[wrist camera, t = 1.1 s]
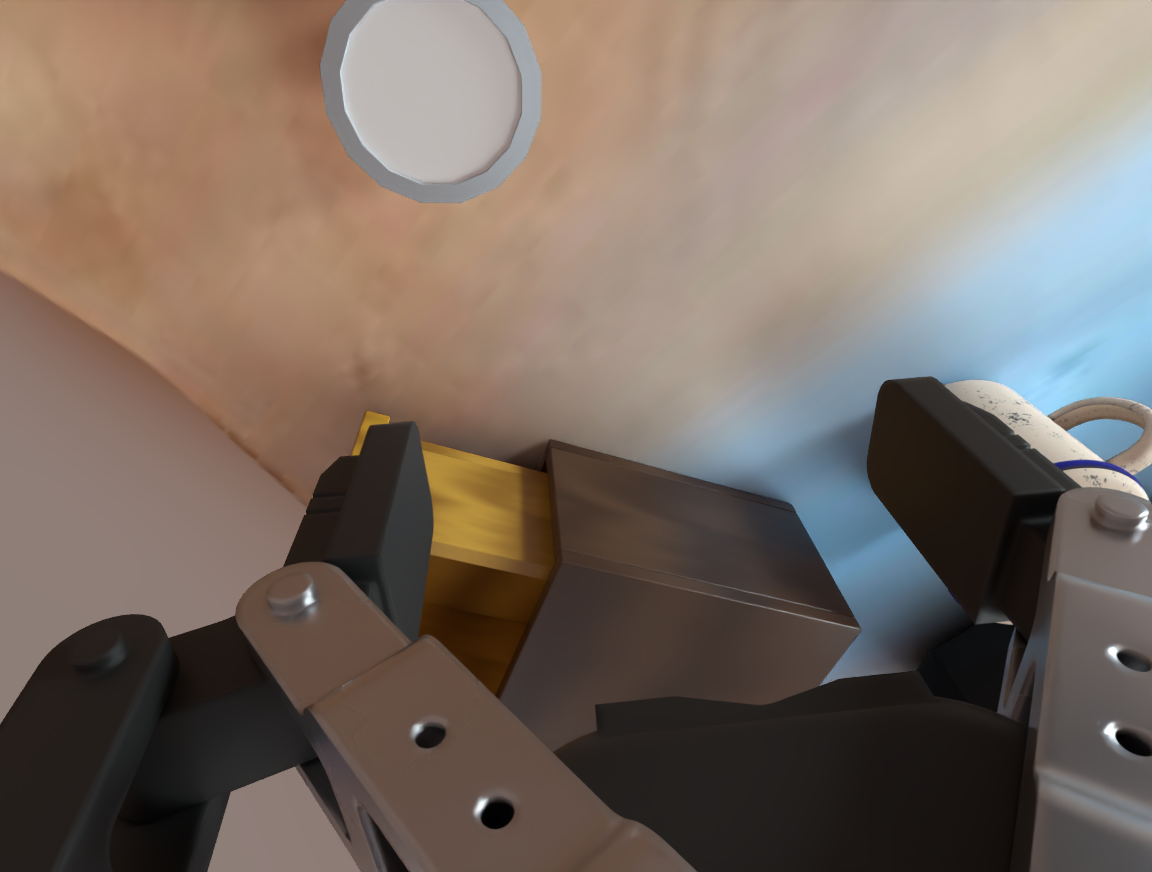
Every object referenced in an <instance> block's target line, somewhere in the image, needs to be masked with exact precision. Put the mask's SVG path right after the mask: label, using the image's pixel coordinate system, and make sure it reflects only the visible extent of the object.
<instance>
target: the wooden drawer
mask: <svg viewBox="0 0 1152 872" xmlns="http://www.w3.org/2000/svg"><path fill="white" fill-rule="evenodd" d="M389 421H390V417H389V416H385V415H382V414H378V413H374V412H370V411H366V412H365V414H364V417H363V420H362V423H361V426H360V429H359V432H358V435H357V438H356V441H355V444H354V447H353V450H352V452H351V455H350V456H353V455H359V454H360V451H361V448H362V445H363V442H364V439H365V436H366V433H367V430H368V428H369V426H370V425H377V424H388V423H389ZM421 446H422V451H423V456H424V461H425V467H426V472H427V477H428V482H429V487H430V492H431V498H432V505H433V518H434V528H433V538H432V545H431V552H430V558H429V565H428V572H427V579H426V586H425V593H424V599H423V606H422V613H421V620H420V627H419V634H418V638H420V637H422V636H423V635H431V636H433V637H434V638H436V639H437V640H438V641H439V642H440V643H442V644H443V645H444V646H445V647H446V648H447V649H448V650H449V651H450V652H451V653H452V654H453V655H454V656H455V657H456V658H457V659H458V660H459V661H460V662H461V663H462V664H463V665H464V666H465V667H466V668H467V669H468V670H469V671H470V672H471V673H472V674H473V675H474V676H475V677H476V678H477V679H478V680H479V681H480V682H481V683H482V684H483V685H484V686H485V687H486V688H487V689H488V690H489V691H490V692H491V693H492V694H493V695H495V694H496V692H497V690H498V688H499V685H500V683H501V681H502V679H503V677H504V674H505V672H506V670H507V668H508V665H509V663H510V661H511V659H512V656H513V654H514V652H515V650H516V648H517V645H518V643H519V641H520V639H521V636H522V634H523V632H524V630H525V628H526V625H527V623H528V621H529V619H530V616H531V614H532V612H533V610H534V608H535V605H536V603H537V601H538V599H539V596H540V594H541V592H542V590H543V588H544V585H545V583H546V581H547V579H548V576H549V574H550V572H551V570H552V568H553V565H554V563H555V561H554V549H553V537H552V525H551V513H550V501H549V489H548V477H547V473H545V472H541V471H537V470H533V469H529V468H525V467H521V466H517V465H514V464H510V463H506V462H502V461H498V460H494V459H490V458H486V457H483V456H479V455H475V454H471V453H467V452H463V451H459V450H455V449H451V448H448V447H444V446H440V445H436V444H432V443H428V442H424V441H421Z"/></svg>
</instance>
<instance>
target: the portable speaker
mask: <svg viewBox="0 0 1152 872" xmlns="http://www.w3.org/2000/svg"><path fill="white" fill-rule="evenodd" d="M1014 629H1015V626H1014V625H1010V624H1001V623H996V622H995V623H985V624H976V625H974V626H972V627H971V628H969V629H967V630H965V631H964V632H962V633H960V634H959V635H957V636H955V637H954V638H952V639H950V640H949V641H947V642H945V643H943V644H942V645H940V646H938V647H936V648H935V649H933V650H931V651H930V653H929V654H928V655H927V657H926V658H925V659H924V661H923V662H922V663H921V665H920V666H919V667H918V669H917V670H916V671H919V673H920V675H921V676H922V678H923V679H924V681H925V683H926V684H927V686H928V687H929V689H930V691H931V692H932V694H933V695H934V697H942V698H948V699H952V700H957V701H962V702H966V703H969V704H973V705H976V706H980V707H983V708H986V709H989V710H991V711H994V712H996V713H997V711H998V705H999V699H1000V693H1001V688H1002V682H1003V676H1004V670H1005V665H1006V659H1007V653H1008V648H1009V644H1010V641H1011V638H1012V635H1013V632H1014Z"/></svg>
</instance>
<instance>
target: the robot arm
mask: <svg viewBox="0 0 1152 872" xmlns="http://www.w3.org/2000/svg"><path fill="white" fill-rule="evenodd" d="M867 472H868V478H869V481H870V484H871V487H872V489H873V491H874V493H875V494H876V495H877V497H878V498H879V499H880V501H881V502H882V503H883V505H884V506H885V507H886V509H887V510H888V511H889V512H890V514H891V515H892V516H893V518H894V519H895V520H896V522H897V523H898V524H899V526H900V527H901V528H902V529H903V531H904V532H905V533H906V535H907V536H908V537H909V539H910V540H911V541H912V542H913V544H914V545H915V546H916V548H917V549H918V550H919V552H920V553H921V554H922V556H923V557H924V558H925V559H926V561H927V562H928V563H929V565H930V566H931V567H932V569H933V570H934V571H935V573H936V574H937V575H938V576H939V578H940V579H941V580H942V582H943V583H944V584H945V586H946V587H947V588H948V590H949V591H950V592H951V593H952V595H953V596H954V597H955V599H956V600H957V601H958V603H959V604H960V605H961V607H962V608H963V609H964V610H965V612H966V613H967V614H968V616H969V617H970V618H971V620H972V621H973V622H974V623H975V624H985V623H995V622H1004V621H1011V622H1012V624H1013V625H1014V626H1015V629H1014V632H1013V635H1012V638H1011V641H1010V644H1009V648H1008V653H1007V659H1006V665H1005V670H1004V676H1003V682H1002V688H1001V693H1000V699H999V705H998V711H997V713H996V712H994V711H991V710H989V709H986V708H983V707H980V706H976V705H973V704H969V703H966V702H962V701H957V700H952V699H948V698H942V697H934V695H933V694H932V692H931V691H930V689H929V687H928V686H927V684H926V683H925V681H924V679H923V678H922V676H921V675H920V673H919V671H909V672H900V673H890V674H881V675H871V676H862V677H852V678H843V679H838V680H835V681H832V682H829V683H827V684H824V685H821V686H818V687H816V688H813V689H810V690H807V691H804V692H802V693H799V694H796V695H793V696H790V697H788V698H785V699H782V700H779V701H777V702H774V703H770V704H766V705H753V704H744V703H734V702H725V701H716V700H707V699H697V698H688V697H679V696H672V697H662V698H653V699H643V700H634V701H624V702H615V703H605V704H596V705H595V713H596V728H597V731H594V732H591V733H589V734H586V735H583V736H581V737H579V738H577V739H575V740H573V741H571V742H569V743H567V744H565V745H563V746H562V747H560V748H559V749H557V750H556V751H554V752H552V751H551V750H549V749H548V748H547V747H546V746H545V745H544V744H543V743H542V742H541V741H540V740H539V739H538V738H537V737H536V736H535V735H534V734H533V733H532V732H531V731H530V730H529V729H528V728H527V727H526V726H525V725H524V724H523V723H522V722H521V721H520V720H519V719H518V718H517V717H516V716H515V715H514V714H513V713H512V712H511V711H510V710H509V709H508V708H507V707H506V706H505V705H504V704H503V703H502V702H501V701H500V700H499V699H498V698H497V697H496V696H495V695H493V694H492V693H491V692H490V691H489V690H488V689H487V688H486V687H485V686H484V685H483V684H482V683H481V682H480V681H479V680H478V679H477V678H476V677H475V676H474V675H473V674H472V673H471V672H470V671H469V670H468V669H467V668H466V667H465V666H464V665H463V664H462V663H461V662H460V661H459V660H458V659H457V658H456V657H455V656H454V655H453V654H452V653H451V652H450V651H449V650H448V649H447V648H446V647H445V646H444V645H443V644H442V643H440V642H439V641H438V640H437V639H436V638H434V637H433V636H431V635H423V636H422V637H420V638H418V634H419V627H420V620H421V613H422V606H423V599H424V593H425V586H426V579H427V572H428V565H429V558H430V552H431V545H432V538H433V528H434V518H433V505H432V498H431V492H430V487H429V482H428V477H427V472H426V467H425V461H424V456H423V451H422V446H421V441H420V436H419V431H418V428H417V425H416V423H415V422H414V421H411V422H400V423H388V424H377V425H370V426H369V428H368V430H367V433H366V436H365V439H364V442H363V445H362V448H361V451H360V454H359V455H353V456H342V457H339V458H338V459H337V460H336V461H335V462H334V463H333V464H332V465H331V466H330V467H329V468H328V469H327V470H326V471H324V472H323V473H322V474H321V476H320V478H319V480H318V483H317V485H316V488H315V490H314V493H313V498H312V499H311V500H310V502H309V505H308V507H307V510H306V515H304V517H303V520H302V522H301V525H300V527H299V529H298V532H297V534H296V537H295V539H294V542H293V544H292V546H291V549H290V551H289V554H288V556H287V559H286V561H285V564H284V566H283V568H280V569H278V570H275V571H273V572H271V573H269V574H267V575H266V576H264V577H262V578H261V579H259V580H258V581H256V582H255V583H254V584H253V585H252V586H251V587H250V588H248V590H247V591H246V592H245V593H244V594H243V595H242V597H241V599H240V600H239V602H238V605H237V607H236V613H235V616H233V617H230V618H228V619H226V620H223V621H220V622H217V623H214V624H211V625H208V626H205V627H202V628H199V629H195V630H192V631H189V632H186V633H183V634H180V635H177V636H173V637H170V638H168V636H167V634H166V632H165V630H164V628H163V626H162V625H161V623H160V622H159V621H158V620H156V619H154V618H152V617H150V616H146V615H139V614H130V615H121V616H117V617H112V618H108V619H105V620H102V621H99V622H96V623H94V624H91V625H89V626H87V627H85V628H83V629H81V630H79V631H77V632H76V633H74V634H72V635H71V636H69V637H68V638H66V639H65V640H63V641H62V642H60V643H59V644H58V645H57V646H56V647H55V648H53V649H52V650H51V651H50V652H49V653H48V654H47V655H46V656H45V658H44V659H43V660H42V661H41V663H40V664H39V665H38V667H37V669H36V670H35V672H34V673H33V675H32V676H31V678H30V679H29V681H28V682H27V684H26V685H25V687H24V689H23V690H22V692H21V693H20V695H19V696H18V698H17V699H16V701H15V702H14V704H13V706H12V707H11V709H10V710H9V712H8V713H7V715H6V716H5V718H4V719H3V721H2V723H1V724H0V872H207V871H208V867H209V863H210V860H211V857H212V854H213V850H214V847H215V843H216V840H217V837H218V833H219V830H220V826H221V823H222V820H223V816H224V813H225V809H226V806H227V803H228V799H229V796H230V792H231V791H233V790H236V789H239V788H241V787H244V786H246V785H249V784H251V783H254V782H256V781H259V780H261V779H264V778H266V777H269V776H272V775H274V774H277V773H279V772H282V771H284V770H287V769H290V768H292V767H296V769H297V770H298V772H299V773H300V775H301V777H302V778H303V780H304V781H305V783H306V785H307V786H308V788H309V789H310V791H311V792H312V794H313V796H314V797H315V799H316V800H317V802H318V803H319V805H320V807H321V808H322V810H323V811H324V813H325V815H326V816H327V818H328V819H329V821H330V822H331V824H332V826H333V827H334V829H335V830H336V832H337V833H338V835H339V837H340V838H341V840H342V841H343V843H344V845H345V846H346V848H347V849H348V851H349V852H350V854H351V855H352V857H353V859H354V861H355V862H356V864H357V866H358V867H359V869H360V871H361V872H1152V502H1151V501H1149V500H1146V499H1144V498H1141V497H1139V496H1136V495H1133V494H1130V493H1127V492H1123V491H1119V490H1114V489H1108V488H1099V487H1084V488H1083V487H1081V486H1080V485H1079V484H1078V483H1077V482H1075V481H1074V480H1073V479H1072V478H1070V477H1069V476H1068V475H1067V474H1066V473H1064V472H1063V471H1062V470H1061V469H1060V468H1058V467H1057V466H1056V465H1055V464H1053V463H1052V462H1051V461H1050V460H1049V459H1047V458H1046V457H1045V456H1044V455H1043V454H1041V453H1040V452H1039V451H1038V450H1036V449H1035V448H1032V449H1031V445H1030V444H1029V443H1028V442H1027V441H1026V440H1024V439H1023V438H1022V437H1021V436H1019V435H1018V434H1017V435H1014V431H1013V430H1012V429H1011V428H1010V427H1009V426H1007V425H1006V424H1005V423H1004V422H1002V421H1001V420H1000V419H999V418H998V417H996V416H995V415H994V414H992V413H989V412H987V411H985V410H983V409H981V408H978V407H976V406H974V405H972V404H970V403H967V402H965V401H962V400H960V399H959V398H958V397H957V396H956V395H954V394H953V393H952V392H951V391H950V390H949V389H947V388H946V387H945V386H944V385H943V384H942V383H940V382H939V381H938V380H937V379H935V378H934V377H917V378H906V379H895V380H887V381H885V382H884V383H883V384H882V386H881V387H880V390H879V393H878V398H877V404H876V409H875V415H874V421H873V427H872V433H871V439H870V444H869V450H868V456H867Z"/></svg>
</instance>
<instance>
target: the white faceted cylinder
mask: <svg viewBox="0 0 1152 872" xmlns="http://www.w3.org/2000/svg"><path fill="white" fill-rule="evenodd" d="M320 72H321V80H322V87H323V94H324V101H325V109H326V115H327V116H328V118H329V120H330V122H331V124H332V126H333V128H334V130H335V132H336V134H337V135H338V137H339V139H340V141H341V143H342V145H343V147H344V149H345V151H346V153H347V154H348V156H349V157H350V158H351V159H352V160H353V161H354V162H355V163H356V164H358V165H359V166H360V167H361V168H362V169H363V170H364V171H365V172H366V173H367V174H368V175H369V176H370V177H372V178H373V179H374V180H375V181H376V182H377V183H378V184H379V185H380V186H381V187H384V188H386V189H389V190H391V191H393V192H396V193H398V194H401V195H403V196H405V197H408V198H410V199H413V200H415V201H418V202H420V203H462V202H465V201H467V200H469V199H472V198H474V197H477V196H479V195H481V194H484V193H486V192H488V191H491V190H493V189H496V188H498V187H499V185H500V184H501V183H502V182H503V181H504V180H505V179H506V178H507V177H508V176H509V175H510V174H511V173H512V172H513V171H514V170H515V169H516V168H517V167H518V166H519V165H520V164H521V162H522V161H523V160H524V159H525V158H526V155H527V153H528V150H529V148H530V145H531V143H532V140H533V137H534V135H535V132H536V130H537V127H538V125H539V122H540V119H541V70H540V67H539V64H538V62H537V59H536V56H535V53H534V51H533V48H532V45H531V43H530V40H529V37H528V34H527V32H526V29H525V26H524V25H523V23H522V22H521V21H520V20H519V19H518V18H517V16H516V15H515V14H514V13H513V12H512V11H511V10H510V8H509V7H508V6H507V5H506V4H505V3H504V1H503V0H346V1H345V3H344V4H343V5H342V6H341V8H340V9H339V10H338V12H337V13H336V14H335V15H334V17H333V18H332V19H331V22H330V26H329V30H328V34H327V38H326V42H325V46H324V51H323V55H322V59H321V63H320Z"/></svg>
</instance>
